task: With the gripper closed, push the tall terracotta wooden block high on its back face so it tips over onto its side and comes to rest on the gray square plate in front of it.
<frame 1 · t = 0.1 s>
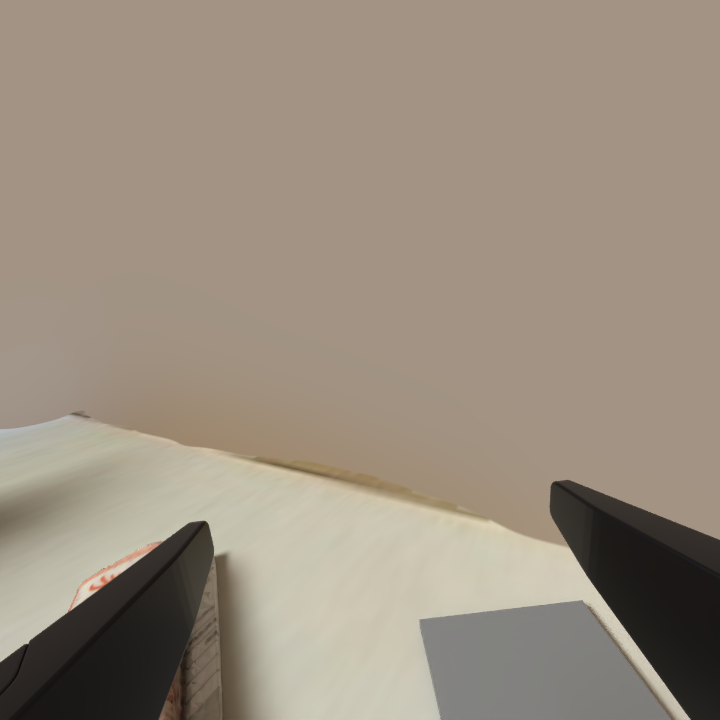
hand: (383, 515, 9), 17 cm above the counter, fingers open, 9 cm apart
packaged product: (133, 704, 20), on the counter
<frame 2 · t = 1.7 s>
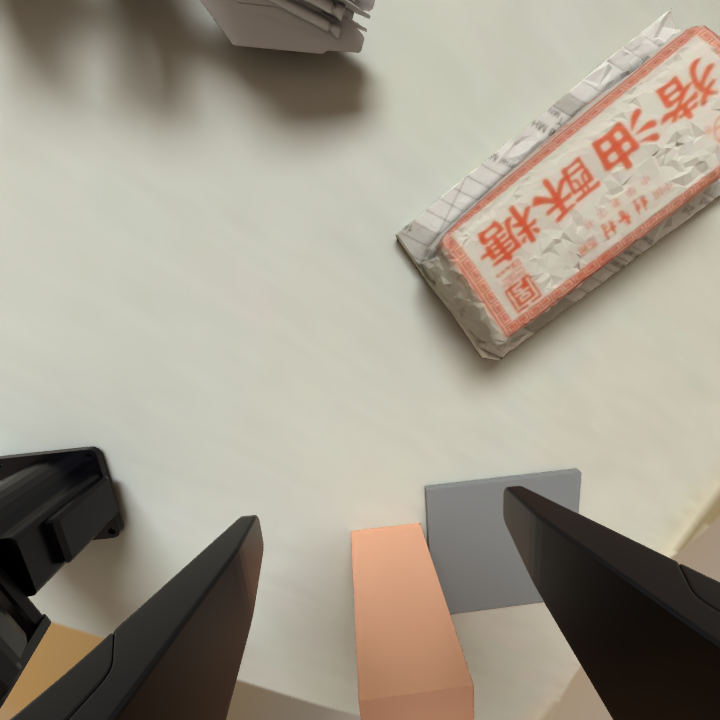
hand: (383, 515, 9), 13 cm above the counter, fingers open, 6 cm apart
gray square plate: (500, 542, 25), on the counter
terracotta block: (387, 555, 25), on the counter
packaged product: (556, 209, 20), on the counter
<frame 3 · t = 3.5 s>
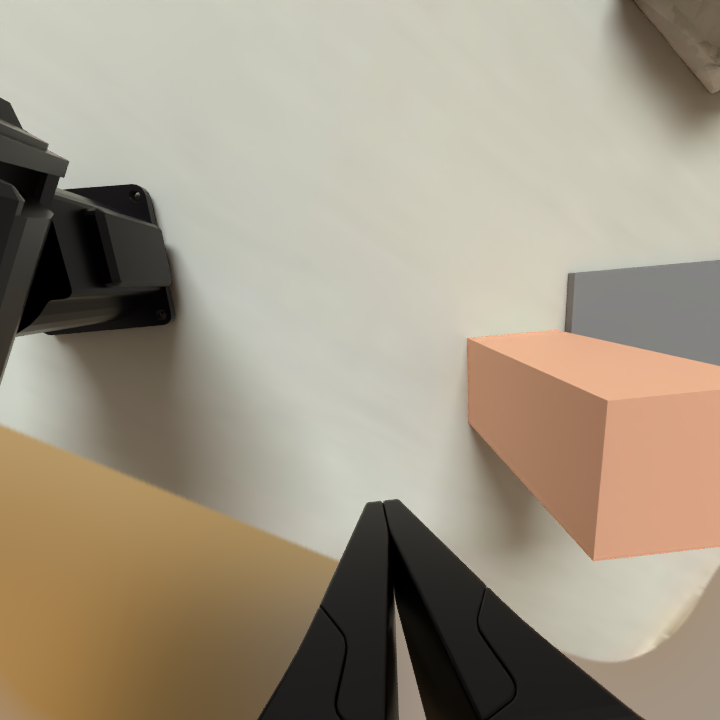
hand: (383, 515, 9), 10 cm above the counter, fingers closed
gray square plate: (656, 363, 19), on the counter
terracotta block: (511, 377, 19), on the counter
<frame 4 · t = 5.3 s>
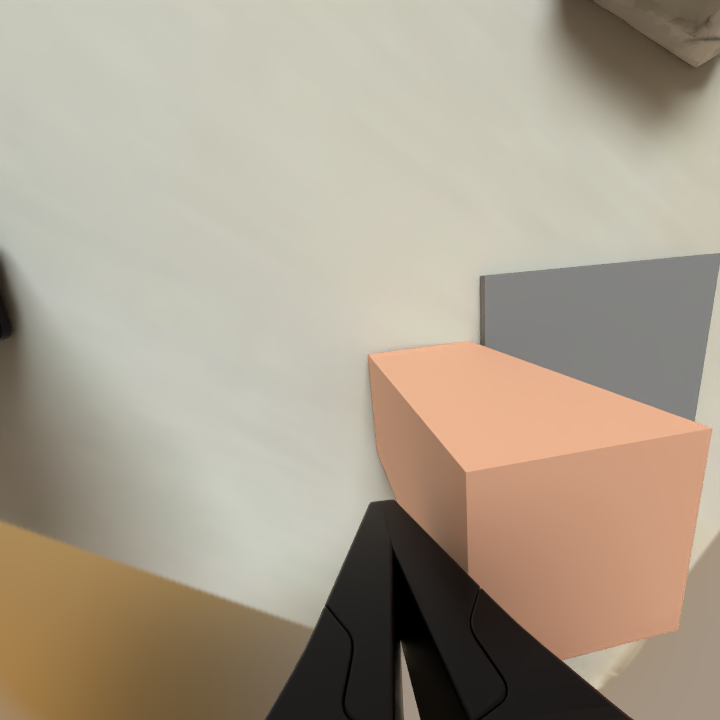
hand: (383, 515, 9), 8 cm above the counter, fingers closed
gray square plate: (588, 377, 17), on the counter
terracotta block: (422, 397, 16), on the counter, tilted 5°, touching gripper
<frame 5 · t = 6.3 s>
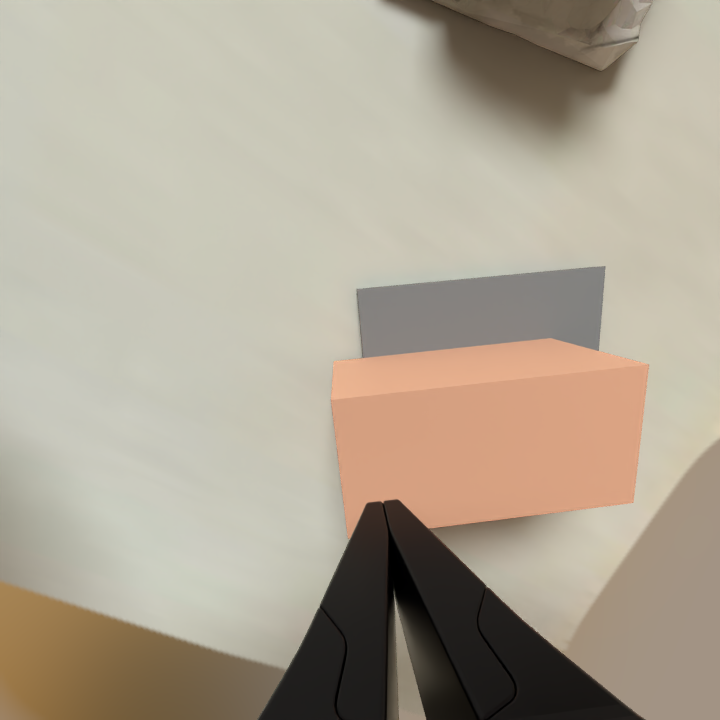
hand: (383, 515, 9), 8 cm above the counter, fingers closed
gray square plate: (479, 393, 16), on the counter
terracotta block: (339, 437, 13), point 3 cm above the counter, tilted 90°, touching gray square plate
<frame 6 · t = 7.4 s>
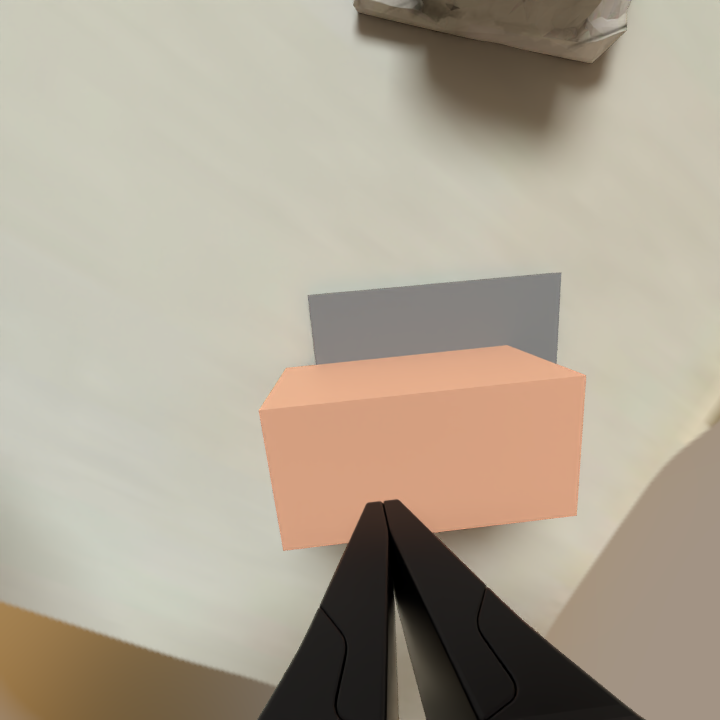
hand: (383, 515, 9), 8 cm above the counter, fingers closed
gray square plate: (437, 400, 16), on the counter
terracotta block: (284, 446, 13), point 3 cm above the counter, tilted 90°, touching gray square plate
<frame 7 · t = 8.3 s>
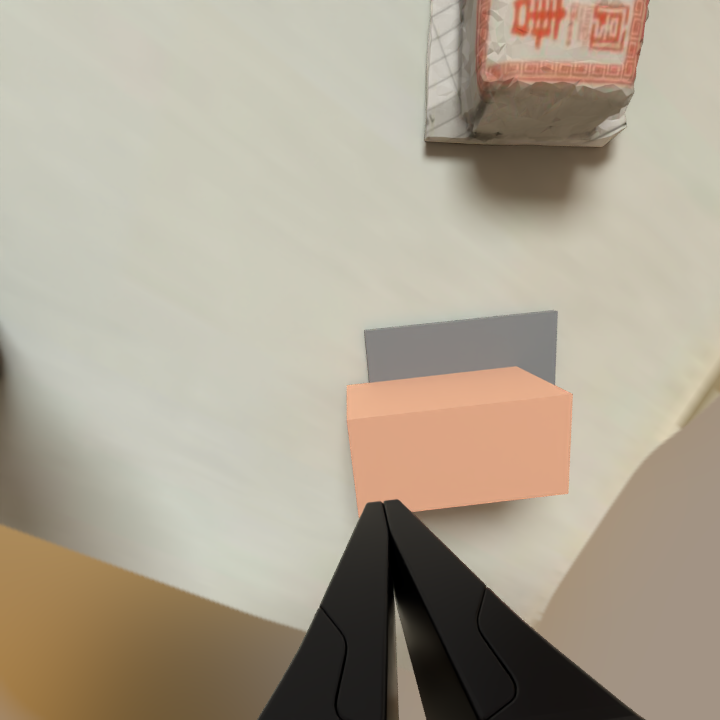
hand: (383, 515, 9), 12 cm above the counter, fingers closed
gray square plate: (461, 408, 21), on the counter
terracotta block: (352, 444, 18), point 3 cm above the counter, tilted 90°, touching gray square plate
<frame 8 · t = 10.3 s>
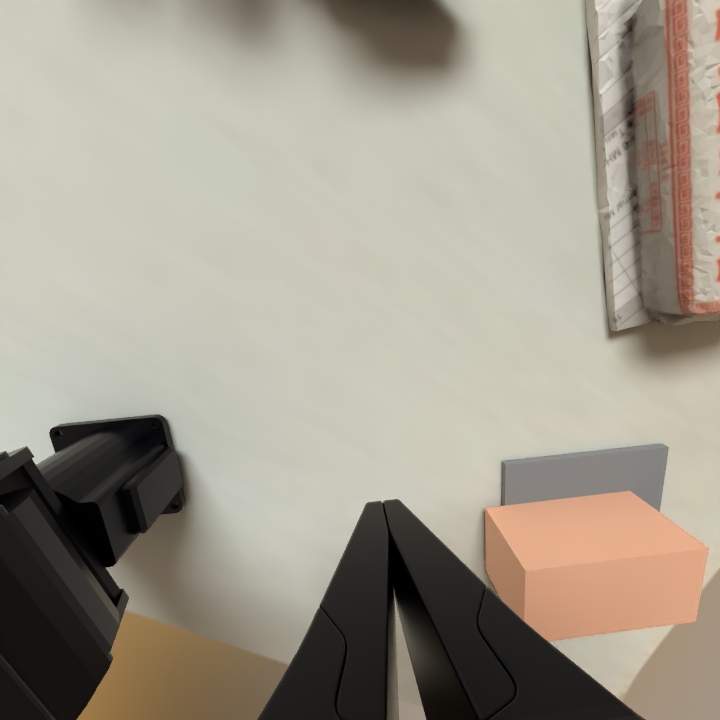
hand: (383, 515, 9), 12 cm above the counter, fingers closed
gray square plate: (577, 522, 24), on the counter
terracotta block: (502, 570, 20), point 3 cm above the counter, tilted 90°, touching gray square plate
packaged product: (671, 156, 19), on the counter
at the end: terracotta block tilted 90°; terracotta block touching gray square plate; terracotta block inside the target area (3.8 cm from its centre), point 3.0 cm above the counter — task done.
